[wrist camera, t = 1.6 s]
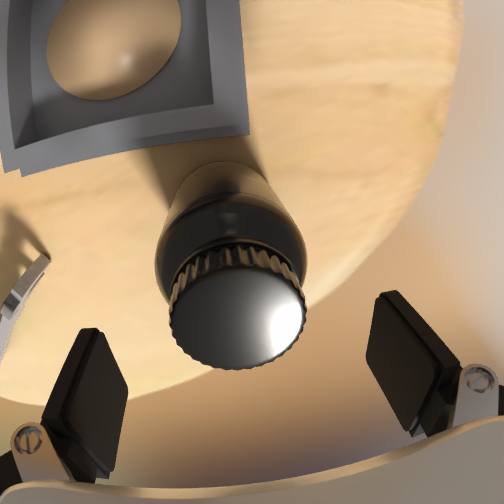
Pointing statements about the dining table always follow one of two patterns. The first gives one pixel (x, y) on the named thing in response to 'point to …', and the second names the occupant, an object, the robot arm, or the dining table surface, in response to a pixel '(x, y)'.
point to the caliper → (19, 299)
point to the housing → (116, 77)
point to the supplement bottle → (231, 269)
